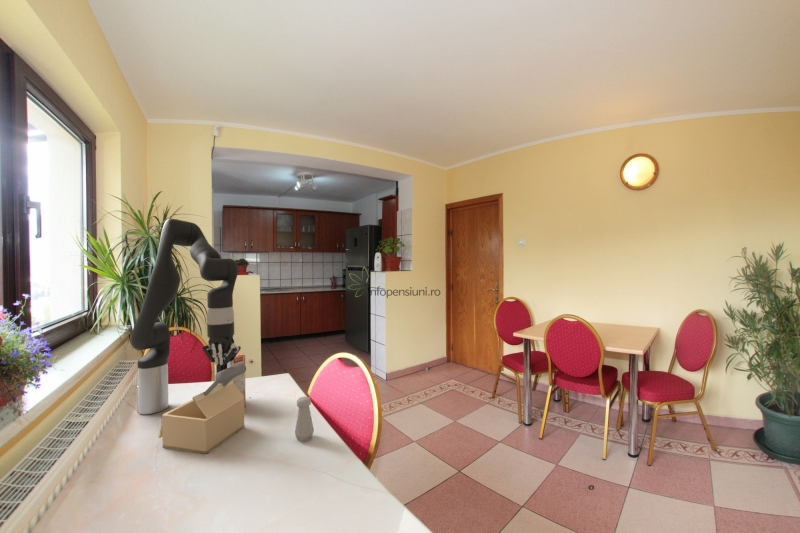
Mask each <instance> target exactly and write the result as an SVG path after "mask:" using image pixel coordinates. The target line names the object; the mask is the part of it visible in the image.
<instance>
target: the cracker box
mask: <svg viewBox="0 0 800 533" xmlns="http://www.w3.org/2000/svg"><path fill="white" fill-rule="evenodd" d="M218 354H219V353H218ZM238 363H244V364H245V365H246V354H243V353H240V352H238V354H237V355H236V357H235V358H234V360H233V361H231V362H228V363H227V368H229V367H231V366H234V365H236V364H238ZM216 374H217V369H216V364H215V363H214V377H215V376H216ZM215 381H216V379H215V378H214V382H215ZM232 381H233V383H234V384H235V385H236V387H237V388H238V389H239V391H240V392H241V393H242V394H243V396H244V409H245V408H246V404H247V403H246V402H247V401H246V400H247V399H246V396H247V395H246V372H245V373H243V374H241V375H239V376H237V377H235V378H233V379H232ZM218 385H219V384H218Z"/></svg>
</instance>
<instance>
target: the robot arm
mask: <svg viewBox="0 0 800 533" xmlns="http://www.w3.org/2000/svg"><path fill="white" fill-rule="evenodd" d="M173 246H181V247H190V248H189V249H190V250H189V254H190V257H191V259H192V260H193V262H195V263H196V264H197V266H198V269H199V274H200V277H201V278H202V279H203V280H205V281H207V282H220V281H222V283H221V284H220V286H218V287H215V288H211V289H209V290H208V291H207V294H206V296H207V297H206V300H207V312H206V330H207V335H206V336H207V338H208V343H207V344H206V345H203V346H202V351H203V352H204V355H206V357H207V359H208V360H209V361H210V363H214V365H215V364H216V369H217V373H218V372H220V371H222V370H225V369H227V363H228V362H231V361H233V360H234V358H235V357H236V355H237V354H238V353H240V351H241V348H242V347H241V346H240V345H238V346H237V345H236V344H235V340H234V335H235V311H234V305H233V304H234V302H233V301H234V300H233V298H234V297H233V295H234V290H235V286H236V285H235V284H236V281H237V278H238V273H239V266H238V263H237V262H236V260H234V259H232V258H222V256H221V254H220V253H219V252H218V251H217V250H216V249H215V248H214V247H213V246H212V245H211V244H210V243H209V241H208V240H207V237H206V236H205V234H204V232H203V231H202V229H201V228H200V226H198V224H196V223H194V222H191V221H187V220H181V219H176V218H168V219H167V220H165V222H164V224H163V227H162V230H161V232H160V238H159V242H158V249H157V253H156V258H155V262H154V266H153V267H152V268H153V269H152V271H151V275H150V278H149V282H148V284H147V288H146V293H145V296H144V300H143V302H142V307H141V309H140V310H139V314H138V316H137V319H136V321H135V323H134V325H133V328H132V330H131V336H130V344H131V346H132V348H133V349H135V350H137V351H143V350H144V351H145V350H148V352H146V353H145V354H144V355H143V356H142V357H140V358H139V359H138V360H137V386H136V387H135V389H136V390H135V394H136V397H135V398H136V412H137V413H138V414H139V415H151V414H156V413H158V412H162V411H164V410H166V409H167V408H169V405H170V404H169V367H168V365H169V364H168V361H169V360H168V359H169V357H170V351H171V350H170V349H171V331H170V328H169V326H168V324H166V323H165V322H163V321H159V322H158V321H157V320H158V318H159V316H160V315H161V314H162V313H163V311H165V310H166V309H167V308H168V306H169V305H170V304H171V303H172V302H173V301H174V299H175V297H176V296H177V295H178V294H177V293H178V290H179V288H180V284H181V276H180V273H179V271H178V269H177V266H176V264H175V262H174V259H173V254H172V253H173V248H174V247H173ZM156 321H157V322H156ZM218 353H219V354H218Z"/></svg>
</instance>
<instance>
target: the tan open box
mask: <svg viewBox="0 0 800 533" xmlns="http://www.w3.org/2000/svg"><path fill="white" fill-rule="evenodd" d="M242 429H245V408H244V398H242V399H240V400H239V401H237V402H235V403H234V404H232V405H230V406H229V407H227V408H225V409H223V410H222V411H220V412H218V413H217V414H215V415H213V416H212V417H210V418H208V419H207V418H206V416H205V415H204V414H203V412H202V411H201V410H200V408H199V407H198V406H197V404H196V403H195V402H194V400H193V399H190V400H189V401H187V402H185V403H183V404H181V405H178V406H177V407H175V408H173V409H170V410H168V411H167V412H164V413H163V414H162V415H161V424H160V428H159V432H158V439H161V438H162V448H164V449H171V450H176V451H181V452H182V451H183V452H188V453H189V452H190V453H194V454H195V453H196V454H203V455H207V454H209V453H211V451H213V450H214V449H215V448H217V447H219V446H220V445H221V444H223V443H224V442H225V441H226V440H228V439H229V438H230V439H231V437H233V436H234V435H235V434H237V433H238V432H239V431H241V430H242Z"/></svg>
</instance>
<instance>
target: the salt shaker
mask: <svg viewBox="0 0 800 533" xmlns="http://www.w3.org/2000/svg"><path fill="white" fill-rule="evenodd" d="M311 404H312V401H311V397H309V396H301V397H298V399H297V400H296V406H297V407H298V409H297V410H298V412H297V419H296V424H295V430H294V436H295V437H296V439H297V441H298V442H301V443H304V442H308V441H310V440H311V439H312V438H313V434H314V431H315V430H314V424H313V420H312V415H311V410H310V405H311Z"/></svg>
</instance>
